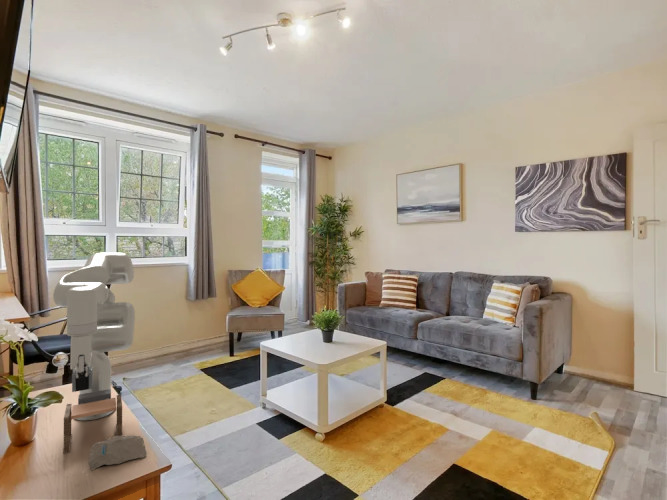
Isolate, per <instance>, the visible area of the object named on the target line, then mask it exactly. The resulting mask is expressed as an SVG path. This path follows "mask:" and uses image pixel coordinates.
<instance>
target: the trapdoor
mask: <svg viewBox="0 0 667 500" xmlns="http://www.w3.org/2000/svg"><path fill="white" fill-rule="evenodd" d="M77 402H78V403H77V404H75V405H72V407H71V421H72V420H77V419H76V418H81V417H86V416H91V415H96V414H101V413H105V412H110V411H113V412H115V411H117V397H112V388H111V389H108V390H102V391H96V392H91V393H85V394H80V393H79V394H78V401H77Z"/></svg>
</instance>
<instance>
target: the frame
mask: <svg viewBox="0 0 667 500" xmlns="http://www.w3.org/2000/svg"><path fill="white" fill-rule="evenodd" d="M71 413H72V403H67V404H66V407H65V410H64V416H63V449H62V454H67V453H70V452H71V445H72V438H73V433H72V420H71ZM115 431H116V432H115V433H116V436H122V435H123V434H124V433H123V401H122V394H116V424H115Z"/></svg>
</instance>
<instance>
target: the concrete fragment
mask: <svg viewBox="0 0 667 500" xmlns="http://www.w3.org/2000/svg"><path fill="white" fill-rule="evenodd" d="M144 442H145V441H144V438H143V437H142V436H140V435H122V436H117V435H116V436H113V437H110V438H109V439H105V440H100V441H99V442H95V443H94V444H92V446H91V448H90V451H89V452H90V453H89V455H88V466H89V467H90V470H95V469H97V468H99V467H102V466H105V465H106V466H111V465H116V464H119V465H120V464H121V463H125V462H128V461H131V460H136V459H143V458H145V457H146V456H147V453H148V452H147V449H146V445H145V443H144Z"/></svg>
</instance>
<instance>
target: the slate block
mask: <svg viewBox="0 0 667 500" xmlns="http://www.w3.org/2000/svg"><path fill="white" fill-rule="evenodd" d="M84 370H85V369H84ZM88 376H89V389H93V367H88ZM71 389H72V390H71V391H72V393H75V392H76V393H77V391H76V368H75V369H73V370H72V373H71ZM81 391H82V390H81Z"/></svg>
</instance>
